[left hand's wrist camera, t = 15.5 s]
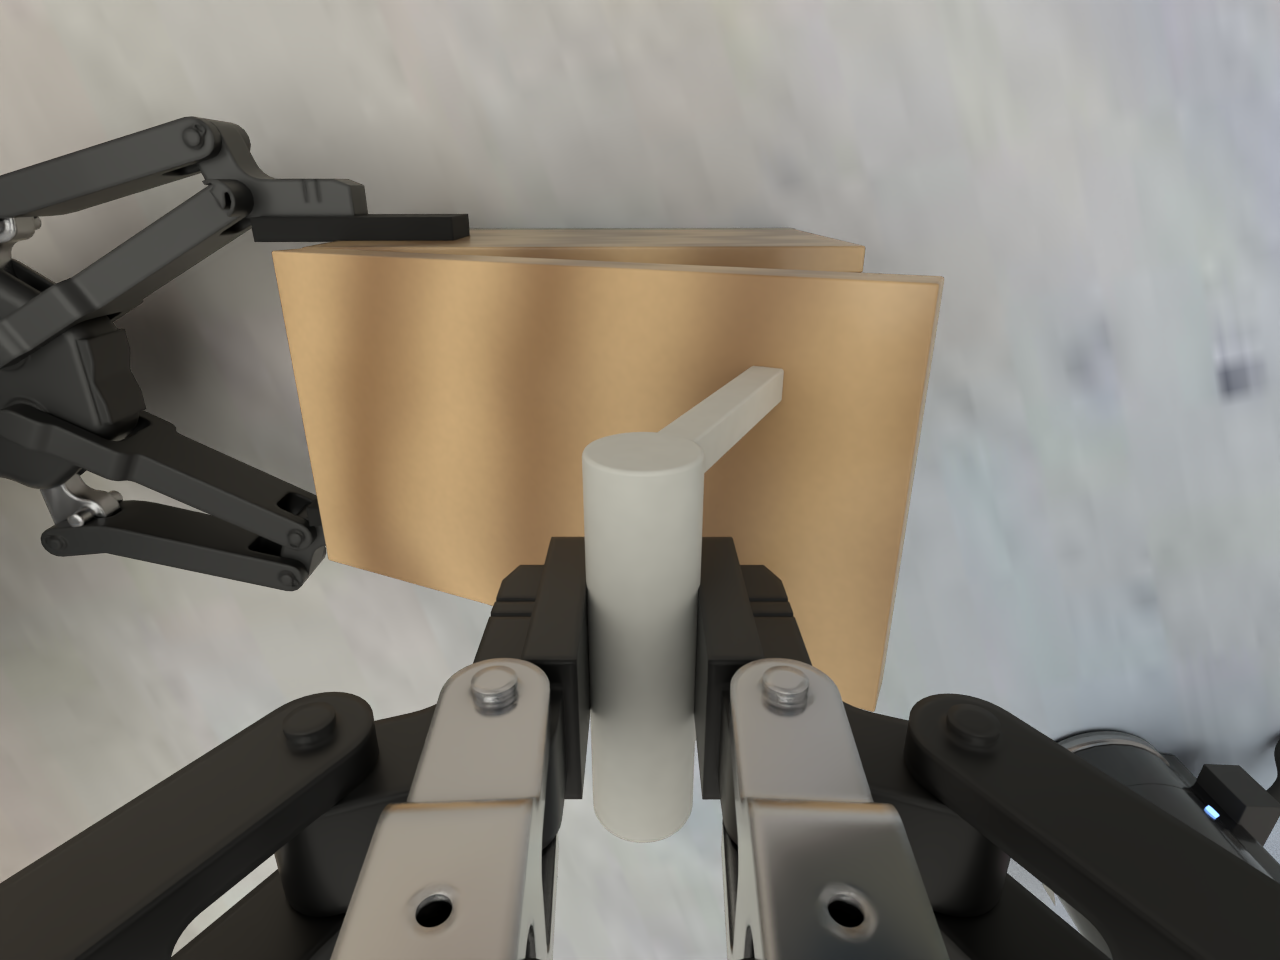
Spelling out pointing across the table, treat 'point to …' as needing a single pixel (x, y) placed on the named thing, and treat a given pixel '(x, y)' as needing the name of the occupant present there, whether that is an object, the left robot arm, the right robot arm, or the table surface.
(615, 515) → the lid
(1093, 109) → the table surface
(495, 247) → the chest
